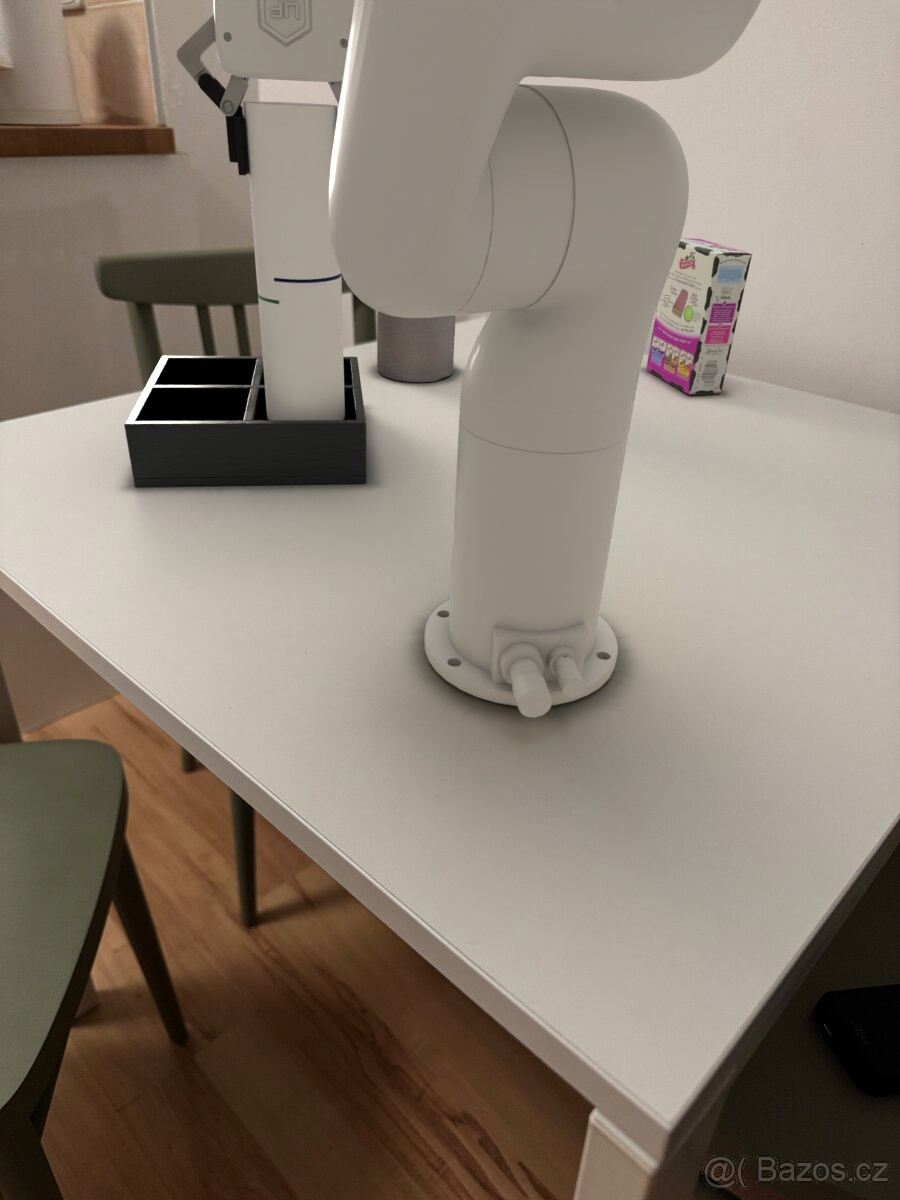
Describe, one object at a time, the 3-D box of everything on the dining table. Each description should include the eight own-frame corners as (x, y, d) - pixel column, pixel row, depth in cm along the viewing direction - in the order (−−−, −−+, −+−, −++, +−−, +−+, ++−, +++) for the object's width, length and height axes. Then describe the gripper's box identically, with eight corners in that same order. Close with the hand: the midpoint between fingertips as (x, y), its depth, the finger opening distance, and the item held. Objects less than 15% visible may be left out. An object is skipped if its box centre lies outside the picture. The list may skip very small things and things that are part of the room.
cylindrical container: (330, 433, 74) (319, 107, 61) (254, 424, 76) (227, 102, 62) (354, 407, 80) (349, 105, 67) (283, 399, 82) (264, 100, 68)
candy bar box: (724, 394, 104) (755, 253, 95) (688, 396, 102) (717, 253, 94) (677, 368, 113) (702, 236, 104) (644, 369, 111) (666, 236, 103)
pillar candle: (373, 360, 110) (372, 237, 102) (446, 360, 111) (451, 238, 103) (381, 384, 101) (381, 251, 94) (460, 382, 103) (467, 253, 95)
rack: (366, 483, 77) (366, 422, 74) (134, 487, 74) (123, 424, 71) (358, 408, 94) (357, 356, 91) (169, 409, 91) (162, 355, 88)
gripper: (139, -132, 54) (175, 176, 63) (410, -111, 56) (406, 184, 65) (158, -111, 60) (188, 167, 69) (400, -93, 62) (398, 174, 72)
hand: (294, 173), depth 67 cm, fingers closed on cylindrical container, 7 cm apart
